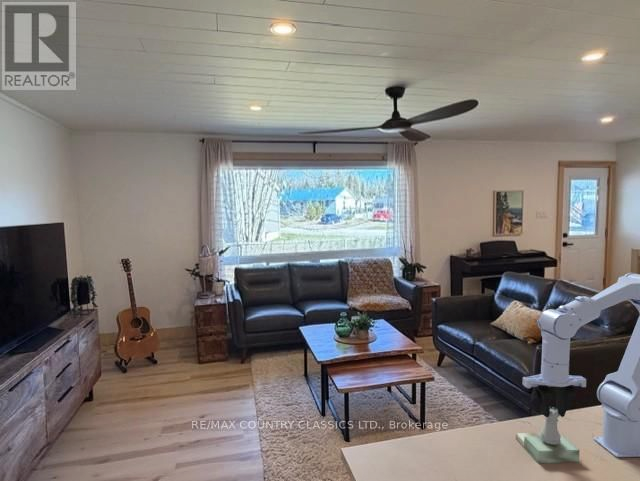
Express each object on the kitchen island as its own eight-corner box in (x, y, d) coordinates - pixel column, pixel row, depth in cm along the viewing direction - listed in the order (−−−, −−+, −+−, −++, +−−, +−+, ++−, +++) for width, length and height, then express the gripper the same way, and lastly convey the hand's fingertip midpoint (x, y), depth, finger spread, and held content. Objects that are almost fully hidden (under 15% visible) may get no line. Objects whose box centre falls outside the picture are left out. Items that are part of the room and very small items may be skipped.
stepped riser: (552, 437, 106) (553, 426, 105) (578, 461, 96) (579, 449, 95) (515, 438, 105) (516, 427, 105) (537, 463, 95) (538, 450, 95)
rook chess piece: (563, 446, 96) (566, 415, 95) (543, 444, 97) (545, 413, 96) (556, 435, 101) (558, 405, 100) (536, 433, 101) (539, 403, 100)
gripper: (573, 353, 101) (570, 406, 102) (516, 354, 100) (514, 407, 101) (593, 364, 94) (590, 420, 95) (532, 365, 93) (530, 422, 94)
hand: (552, 414), depth 98 cm, fingers closed on rook chess piece, 3 cm apart
